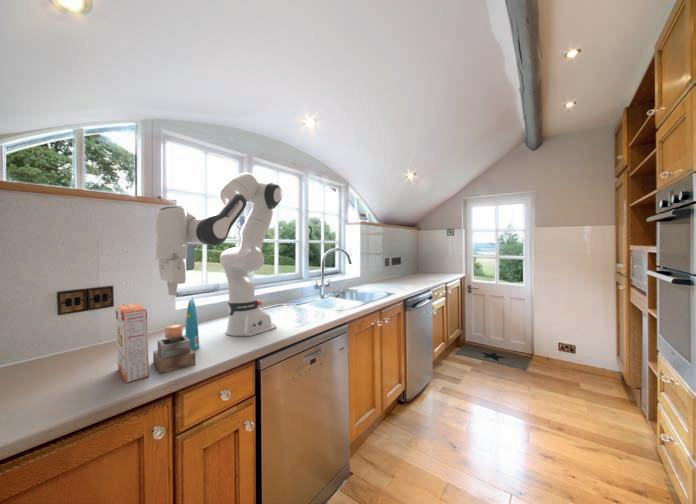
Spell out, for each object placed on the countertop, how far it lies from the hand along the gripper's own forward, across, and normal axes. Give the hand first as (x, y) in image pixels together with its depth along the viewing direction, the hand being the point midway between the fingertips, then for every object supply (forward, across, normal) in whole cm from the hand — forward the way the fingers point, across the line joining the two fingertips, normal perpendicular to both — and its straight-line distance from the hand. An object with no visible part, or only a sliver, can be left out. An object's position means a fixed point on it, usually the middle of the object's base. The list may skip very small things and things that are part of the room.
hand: (172, 295), depth 93 cm
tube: (+23, +11, -8) cm, 27 cm away
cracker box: (+24, +1, +11) cm, 26 cm away
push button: (+16, 0, 0) cm, 16 cm away
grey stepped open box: (+23, 0, 0) cm, 23 cm away
